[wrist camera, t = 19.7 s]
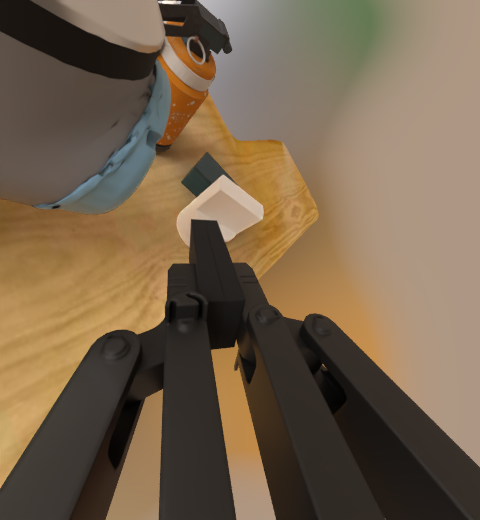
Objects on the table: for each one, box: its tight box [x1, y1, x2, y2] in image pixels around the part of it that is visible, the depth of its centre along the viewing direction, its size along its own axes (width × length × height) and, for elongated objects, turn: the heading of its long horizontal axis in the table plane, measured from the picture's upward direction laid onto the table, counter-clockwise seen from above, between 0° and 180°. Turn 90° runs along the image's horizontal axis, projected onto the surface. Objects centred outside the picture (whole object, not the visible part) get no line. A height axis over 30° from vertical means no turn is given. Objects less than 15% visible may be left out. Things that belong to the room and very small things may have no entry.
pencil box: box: [181, 152, 238, 197], centre depth 45 cm, size 15×6×5 cm, turn 69°
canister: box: [155, 0, 232, 151], centre depth 32 cm, size 9×11×20 cm
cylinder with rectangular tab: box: [176, 175, 264, 247], centre depth 37 cm, size 9×9×12 cm
